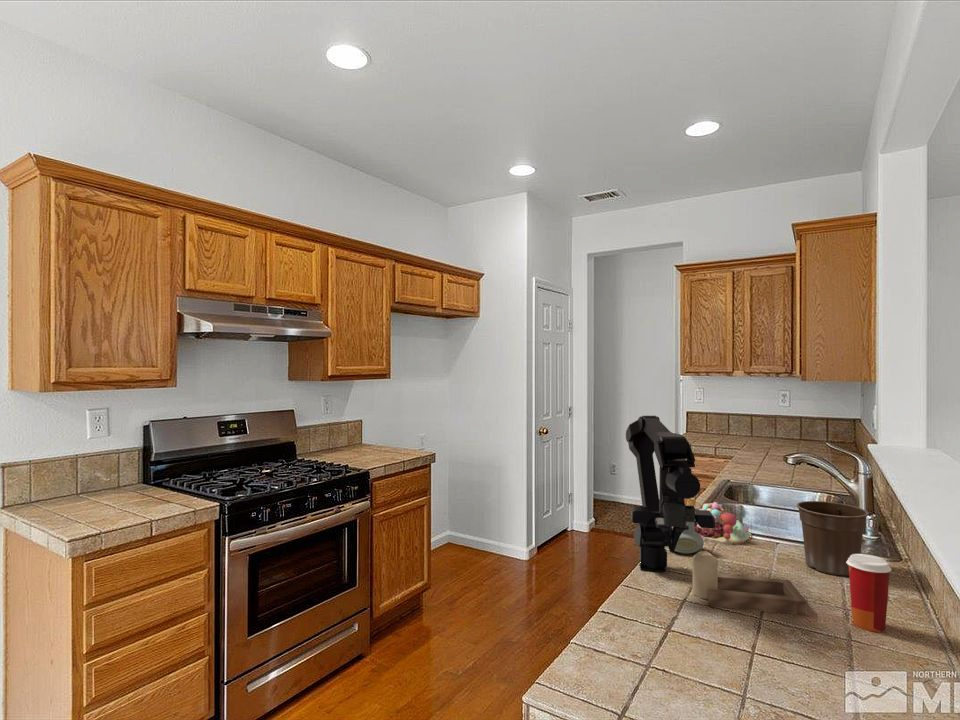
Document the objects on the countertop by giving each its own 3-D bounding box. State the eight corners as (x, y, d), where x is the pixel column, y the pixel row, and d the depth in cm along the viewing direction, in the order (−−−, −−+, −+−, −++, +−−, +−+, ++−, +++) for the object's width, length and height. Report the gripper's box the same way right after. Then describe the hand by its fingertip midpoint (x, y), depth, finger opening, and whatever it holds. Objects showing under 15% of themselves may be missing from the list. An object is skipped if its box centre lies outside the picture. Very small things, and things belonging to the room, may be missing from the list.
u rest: (709, 605, 124) (709, 592, 124) (700, 584, 135) (700, 572, 135) (806, 615, 119) (806, 601, 119) (789, 592, 131) (789, 580, 131)
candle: (719, 600, 126) (719, 557, 126) (694, 598, 127) (694, 556, 127) (714, 590, 132) (714, 549, 132) (690, 589, 133) (690, 548, 133)
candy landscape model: (659, 533, 177) (659, 504, 177) (682, 516, 196) (682, 490, 196) (743, 549, 162) (743, 518, 162) (758, 529, 180) (758, 501, 180)
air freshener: (701, 547, 162) (701, 513, 162) (705, 557, 154) (705, 522, 154) (662, 544, 165) (662, 511, 165) (665, 554, 157) (665, 519, 157)
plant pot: (792, 553, 157) (792, 497, 157) (858, 561, 151) (858, 503, 151) (802, 574, 142) (802, 512, 142) (876, 583, 136) (876, 519, 136)
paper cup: (883, 620, 117) (883, 555, 117) (897, 637, 110) (897, 568, 110) (841, 614, 119) (841, 551, 119) (852, 631, 112) (852, 563, 112)
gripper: (633, 493, 126) (633, 561, 126) (719, 498, 121) (719, 568, 121) (631, 482, 137) (631, 544, 137) (710, 487, 132) (710, 550, 132)
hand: (671, 552), depth 132 cm, fingers closed
